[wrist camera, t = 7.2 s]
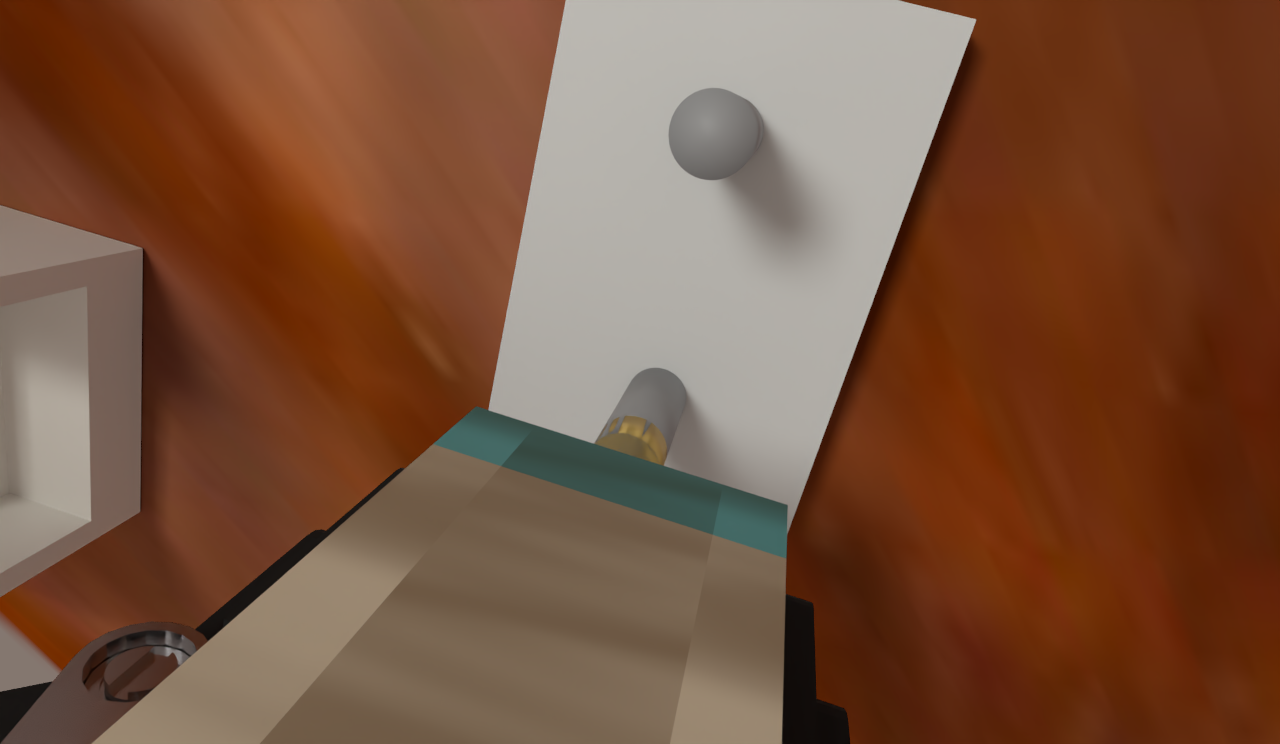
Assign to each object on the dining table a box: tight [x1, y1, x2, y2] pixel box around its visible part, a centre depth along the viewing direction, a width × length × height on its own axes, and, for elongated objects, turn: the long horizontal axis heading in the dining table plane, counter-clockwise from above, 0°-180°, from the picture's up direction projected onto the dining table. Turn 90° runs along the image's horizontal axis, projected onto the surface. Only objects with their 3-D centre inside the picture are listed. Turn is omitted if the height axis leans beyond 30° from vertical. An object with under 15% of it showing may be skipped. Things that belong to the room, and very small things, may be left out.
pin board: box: [489, 0, 976, 534], centre depth 18 cm, size 9×14×6 cm, turn 166°
